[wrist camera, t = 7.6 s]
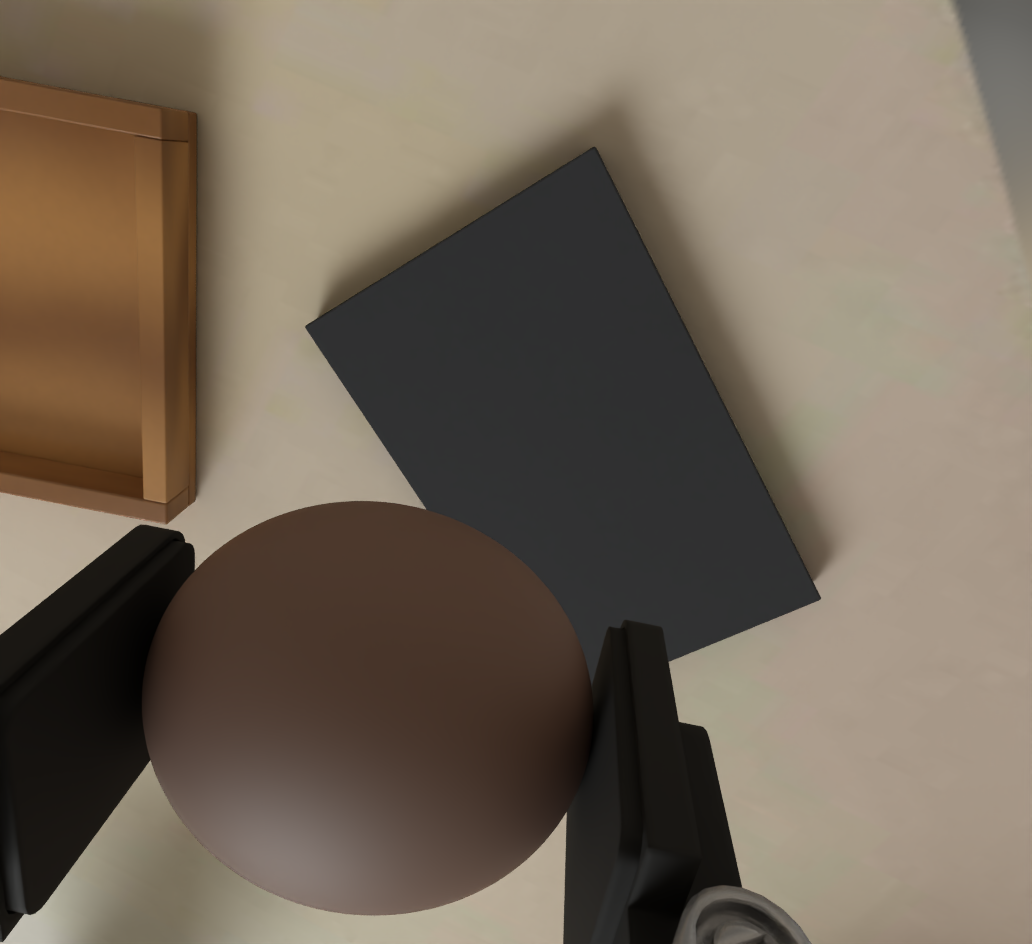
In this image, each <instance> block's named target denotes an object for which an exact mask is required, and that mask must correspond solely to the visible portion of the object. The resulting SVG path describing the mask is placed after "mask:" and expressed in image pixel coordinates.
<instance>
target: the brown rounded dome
mask: <svg viewBox="0 0 1032 944" xmlns="http://www.w3.org/2000/svg"><path fill="white" fill-rule="evenodd" d="M593 716H594V711H593V695H592V686H591V680H590V675H589V671H588V667H587V663H586V659H585V656H584V653H583V650H582V647H581V645H580V642H579V640H578V637H577V635H576V633H575V631H574V628H573V626H572V624H571V623H570V621H569V619H568V617H567V615H566V614H565V612H564V610H563V609H562V607H561V606H560V604H559V603H558V601H557V600H556V598H555V597H554V595H553V594H552V593H551V592H550V590H549V589H548V588H547V587H546V585H545V584H544V583H543V582H542V581H541V580H540V579H539V577H538V576H537V575H536V574H535V573H534V572H533V571H532V570H531V569H530V568H529V567H528V566H527V565H526V564H525V563H523V562H522V561H521V560H520V559H519V558H518V557H516V556H515V555H514V554H513V553H512V552H510V551H509V550H508V549H506V548H505V547H504V546H502V545H501V544H499V543H498V542H496V541H495V540H493V539H492V538H490V537H488V536H487V535H485V534H483V533H482V532H480V531H478V530H476V529H474V528H472V527H470V526H468V525H466V524H464V523H462V522H459V521H457V520H455V519H452V518H450V517H447V516H444V515H441V514H438V513H435V512H432V511H428V510H425V509H421V508H417V507H412V506H407V505H402V504H395V503H387V502H373V501H349V502H336V503H328V504H321V505H316V506H311V507H306V508H302V509H298V510H295V511H291V512H288V513H285V514H282V515H279V516H277V517H274V518H271V519H269V520H267V521H264V522H262V523H260V524H258V525H256V526H254V527H252V528H250V529H248V530H246V531H245V532H243V533H241V534H239V535H238V536H236V537H235V538H233V539H232V540H230V541H229V542H227V543H226V544H224V545H223V546H222V547H220V548H219V549H218V550H217V551H215V552H214V553H213V554H212V555H211V556H209V557H208V558H207V559H206V560H205V561H204V562H203V563H202V564H201V565H200V566H199V567H198V568H197V569H196V570H195V571H194V572H193V573H192V574H191V575H190V576H189V578H188V579H187V580H186V581H185V582H184V584H183V585H182V586H181V588H180V589H179V590H178V592H177V593H176V595H175V596H174V597H173V599H172V601H171V602H170V604H169V605H168V607H167V609H166V611H165V613H164V614H163V616H162V618H161V620H160V623H159V625H158V627H157V629H156V632H155V634H154V637H153V640H152V643H151V646H150V649H149V652H148V656H147V661H146V665H145V671H144V677H143V686H142V719H143V727H144V734H145V740H146V744H147V749H148V753H149V756H150V759H151V762H152V765H153V768H154V771H155V774H156V776H157V779H158V781H159V783H160V785H161V787H162V789H163V791H164V793H165V795H166V797H167V799H168V801H169V802H170V804H171V806H172V807H173V809H174V811H175V812H176V814H177V815H178V816H179V818H180V819H181V821H182V822H183V823H184V825H185V826H186V827H187V828H188V830H189V831H190V832H191V833H192V834H193V836H194V837H195V838H196V839H197V840H198V841H199V842H200V843H201V844H202V845H203V846H204V847H205V848H206V849H207V850H208V851H209V852H210V853H211V854H212V855H213V856H215V857H216V858H217V859H218V860H219V861H221V862H222V863H223V864H224V865H226V866H227V867H228V868H230V869H231V870H232V871H234V872H235V873H237V874H238V875H240V876H241V877H243V878H244V879H246V880H248V881H249V882H251V883H253V884H255V885H256V886H258V887H260V888H262V889H264V890H266V891H268V892H270V893H273V894H275V895H277V896H279V897H282V898H284V899H287V900H290V901H293V902H295V903H298V904H302V905H305V906H309V907H312V908H316V909H320V910H325V911H331V912H337V913H344V914H353V915H395V914H404V913H411V912H418V911H422V910H427V909H432V908H436V907H439V906H443V905H446V904H449V903H452V902H455V901H458V900H460V899H463V898H465V897H468V896H470V895H472V894H474V893H477V892H479V891H481V890H483V889H484V888H486V887H488V886H490V885H492V884H493V883H495V882H497V881H498V880H500V879H502V878H503V877H505V876H506V875H507V874H509V873H510V872H512V871H513V870H514V869H516V868H517V867H518V866H520V865H521V864H522V863H523V862H524V861H525V860H527V859H528V858H529V857H530V856H531V855H532V854H533V853H534V852H535V851H536V850H537V849H538V848H539V847H540V846H541V845H542V844H543V843H544V842H545V840H546V839H547V838H548V837H549V836H550V835H551V833H552V832H553V831H554V829H555V828H556V827H557V825H558V824H559V823H560V821H561V820H562V818H563V817H564V815H565V813H566V812H567V810H568V808H569V806H570V805H571V803H572V801H573V799H574V797H575V795H576V793H577V790H578V788H579V786H580V783H581V780H582V778H583V775H584V772H585V769H586V765H587V761H588V757H589V753H590V748H591V741H592V734H593Z"/></svg>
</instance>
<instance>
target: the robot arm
mask: <svg viewBox="0 0 1032 944" xmlns="http://www.w3.org/2000/svg"><path fill="white" fill-rule="evenodd" d="M194 571H195V552H194V547H193V545H192V544H190V543H185V539H184V536H183V534H182V533H181V532H179V531H174V530H169V529H164V528H159V527H154V526H149V525H139V526H137V527H135V528H134V529H133V530H131V531H130V532H129V533H128V534H126V535H125V536H124V537H123V538H121V539H120V540H119V541H118V542H116V543H115V544H114V545H113V546H111V547H110V548H109V549H108V550H106V551H105V552H104V553H103V554H101V555H100V556H99V557H98V558H96V559H95V560H94V561H93V562H91V563H90V564H89V565H88V566H86V567H85V568H84V569H83V570H81V571H80V572H79V573H78V574H76V575H75V576H74V577H73V578H71V579H70V580H69V581H68V582H66V583H65V584H64V585H62V586H61V587H60V588H59V589H57V590H56V591H55V592H54V593H52V594H51V595H50V596H49V597H47V598H46V599H45V600H44V601H42V602H41V603H40V604H39V605H37V606H36V607H35V608H34V609H32V610H31V611H30V612H29V613H27V614H26V615H25V616H24V617H22V618H21V619H20V620H19V621H17V622H16V623H15V624H14V625H12V626H11V627H10V628H9V629H7V630H6V631H5V632H4V633H2V634H1V635H0V942H3V941H4V940H5V939H6V937H7V936H8V935H9V933H10V932H11V931H12V929H13V928H14V927H15V925H16V924H17V923H18V921H19V920H20V919H21V917H22V916H23V915H24V914H29V915H32V914H35V913H36V912H37V911H39V910H40V909H41V908H42V907H43V905H44V904H45V903H46V902H47V900H48V899H49V898H50V896H51V895H52V894H53V892H54V891H55V890H56V888H57V887H58V885H59V884H60V883H61V881H62V880H63V879H64V877H65V876H66V875H67V873H68V872H69V870H70V869H71V868H72V866H73V865H74V864H75V862H76V861H77V860H78V858H79V857H80V855H81V854H82V853H83V851H84V850H85V849H86V847H87V846H88V845H89V843H90V842H91V840H92V839H93V838H94V836H95V835H96V834H97V832H98V831H99V830H100V828H101V827H102V825H103V824H104V823H105V821H106V820H107V819H108V817H109V816H110V815H111V813H112V812H113V810H114V809H115V808H116V806H117V805H118V804H119V802H120V801H121V799H122V798H123V797H124V795H125V794H126V793H127V791H128V790H129V789H130V787H131V786H132V784H133V783H134V782H135V780H136V779H137V778H138V776H139V775H140V774H141V772H142V771H143V769H144V768H145V767H146V765H147V764H148V763H149V761H150V760H151V759H150V756H149V753H148V749H147V744H146V740H145V734H144V727H143V719H142V686H143V677H144V671H145V665H146V661H147V656H148V652H149V649H150V646H151V643H152V640H153V637H154V634H155V632H156V629H157V627H158V625H159V623H160V620H161V618H162V616H163V614H164V613H165V611H166V609H167V607H168V605H169V604H170V602H171V601H172V599H173V597H174V596H175V595H176V593H177V592H178V590H179V589H180V588H181V586H182V585H183V584H184V582H185V581H186V580H187V579H188V578H189V576H190V575H191V574H192V573H193V572H194ZM592 695H593V711H594V716H593V734H592V741H591V748H590V753H589V757H588V761H587V765H586V769H585V772H584V775H583V778H582V780H581V783H580V786H579V788H578V790H577V793H576V795H575V797H574V799H573V801H572V803H571V805H570V806H569V808H568V810H567V826H566V863H565V901H564V938H563V944H811V942H810V941H809V939H808V938H807V936H806V935H805V933H804V932H803V930H802V929H801V927H800V926H799V925H798V924H797V923H796V922H795V921H794V920H793V919H792V918H791V917H790V916H789V915H788V914H787V913H786V912H785V911H784V910H783V909H782V908H780V907H779V906H777V905H776V904H774V903H773V902H771V901H770V900H768V899H767V898H765V897H764V896H762V895H759V894H757V893H754V892H752V891H749V890H747V889H744V888H742V885H741V880H740V876H739V871H738V867H737V862H736V858H735V853H734V848H733V844H732V839H731V835H730V830H729V826H728V821H727V817H726V812H725V808H724V803H723V799H722V794H721V790H720V785H719V780H718V776H717V771H716V767H715V762H714V758H713V753H712V749H711V744H710V740H709V737H708V734H707V731H706V730H705V729H704V728H703V727H701V726H696V725H691V724H686V723H681V722H679V720H678V715H677V709H676V703H675V697H674V691H673V685H672V680H671V674H670V668H669V662H668V656H667V651H666V645H665V639H664V633H663V629H662V627H660V626H656V625H651V624H646V623H641V622H636V621H630V620H624V621H623V622H622V625H621V627H620V628H615V627H610V626H609V627H608V629H607V631H606V635H605V638H604V642H603V646H602V649H601V653H600V657H599V661H598V664H597V668H596V672H595V676H594V679H593V683H592Z"/></svg>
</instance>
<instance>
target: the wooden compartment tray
mask: <svg viewBox="0 0 1032 944" xmlns="http://www.w3.org/2000/svg"><path fill="white" fill-rule="evenodd" d="M196 206H197V114H196V113H194V112H189V111H183V110H178V109H173V108H167V107H162V106H157V105H151V104H146V103H140V102H135V101H130V100H124V99H119V98H114V97H108V96H103V95H98V94H92V93H87V92H82V91H76V90H71V89H65V88H60V87H55V86H49V85H44V84H39V83H33V82H28V81H23V80H17V79H12V78H7V77H1V76H0V492H1V493H7V494H12V495H17V496H22V497H27V498H32V499H38V500H43V501H48V502H53V503H58V504H63V505H68V506H74V507H79V508H84V509H89V510H94V511H99V512H104V513H110V514H115V515H120V516H125V517H130V518H135V519H141V520H146V521H151V522H156V523H161V524H168V523H169V522H170V521H171V520H173V519H174V518H175V517H176V516H177V515H178V514H180V513H181V512H182V511H183V510H184V509H186V508H187V507H188V506H189V505H191V504H192V503H193V502H194V501H195V477H196Z"/></svg>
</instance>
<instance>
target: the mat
mask: <svg viewBox="0 0 1032 944" xmlns="http://www.w3.org/2000/svg"><path fill="white" fill-rule="evenodd" d="M305 328H306V329H307V331H308V332H309V334H310V335H311V337H312V338H313V340H314V341H315V343H316V344H317V346H318V347H319V349H320V350H321V352H322V353H323V355H324V356H325V358H326V359H327V361H328V362H329V364H330V365H331V367H332V368H333V370H334V371H335V373H336V374H337V376H338V377H339V379H340V380H341V382H342V383H343V385H344V386H345V388H346V389H347V391H348V392H349V394H350V395H351V397H352V398H353V400H354V401H355V403H356V404H357V406H358V407H359V409H360V410H361V412H362V413H363V415H364V416H365V418H366V419H367V421H368V422H369V424H370V425H371V427H372V428H373V430H374V431H375V433H376V434H377V436H378V437H379V439H380V440H381V442H382V443H383V445H384V446H385V448H386V449H387V451H388V452H389V454H390V455H391V457H392V458H393V460H394V461H395V463H396V464H397V466H398V467H399V469H400V470H401V472H402V473H403V475H404V476H405V478H406V479H407V481H408V482H409V484H410V485H411V487H412V488H413V490H414V491H415V493H416V494H417V496H418V497H419V499H420V500H421V502H422V503H423V505H424V506H425V508H426V509H427V510H428V511H432V512H435V513H438V514H441V515H444V516H447V517H450V518H452V519H455V520H457V521H459V522H462V523H464V524H466V525H468V526H470V527H472V528H474V529H476V530H478V531H480V532H482V533H483V534H485V535H487V536H488V537H490V538H492V539H493V540H495V541H496V542H498V543H499V544H501V545H502V546H504V547H505V548H506V549H508V550H509V551H510V552H512V553H513V554H514V555H515V556H516V557H518V558H519V559H520V560H521V561H522V562H523V563H525V564H526V565H527V566H528V567H529V568H530V569H531V570H532V571H533V572H534V573H535V574H536V575H537V576H538V577H539V579H540V580H541V581H542V582H543V583H544V584H545V585H546V587H547V588H548V589H549V590H550V592H551V593H552V594H553V595H554V597H555V598H556V600H557V601H558V603H559V604H560V606H561V607H562V609H563V610H564V612H565V614H566V615H567V617H568V619H569V621H570V623H571V624H572V626H573V628H574V631H575V633H576V635H577V637H578V640H579V642H580V645H581V647H582V650H583V653H584V656H585V659H586V663H587V667H588V671H589V675H590V680H591V686H592V683H593V679H594V676H595V672H596V668H597V664H598V661H599V657H600V653H601V649H602V646H603V642H604V638H605V635H606V631H607V629H608V627H609V626H610V627H615V628H620V627H621V625H622V622H623V621H624V620H630V621H636V622H641V623H646V624H651V625H656V626H660V627H662V629H663V633H664V639H665V645H666V651H667V656H668V662H669V661H672V660H674V659H677V658H679V657H682V656H684V655H686V654H689V653H691V652H694V651H696V650H699V649H701V648H704V647H706V646H708V645H711V644H713V643H716V642H718V641H721V640H723V639H726V638H728V637H731V636H733V635H735V634H738V633H740V632H743V631H745V630H748V629H750V628H753V627H755V626H757V625H760V624H762V623H765V622H767V621H770V620H772V619H775V618H777V617H779V616H782V615H784V614H787V613H789V612H792V611H794V610H797V609H799V608H801V607H804V606H806V605H809V604H811V603H814V602H816V601H819V600H820V599H821V597H820V595H819V593H818V591H817V589H816V587H815V585H814V583H813V581H812V579H811V577H810V575H809V573H808V571H807V569H806V567H805V565H804V563H803V561H802V559H801V557H800V555H799V553H798V551H797V549H796V547H795V545H794V543H793V541H792V539H791V537H790V535H789V533H788V531H787V529H786V527H785V525H784V523H783V521H782V519H781V517H780V515H779V513H778V511H777V509H776V507H775V505H774V503H773V501H772V499H771V497H770V495H769V493H768V491H767V489H766V487H765V485H764V483H763V481H762V479H761V477H760V475H759V473H758V471H757V469H756V467H755V465H754V463H753V461H752V459H751V457H750V455H749V453H748V451H747V449H746V447H745V445H744V443H743V441H742V439H741V437H740V435H739V433H738V431H737V429H736V427H735V425H734V423H733V421H732V419H731V417H730V415H729V413H728V411H727V409H726V407H725V405H724V403H723V401H722V399H721V397H720V395H719V393H718V391H717V389H716V387H715V385H714V383H713V381H712V379H711V377H710V375H709V373H708V371H707V369H706V367H705V365H704V363H703V361H702V359H701V357H700V355H699V353H698V351H697V349H696V347H695V345H694V343H693V341H692V339H691V337H690V335H689V333H688V331H687V329H686V327H685V325H684V323H683V321H682V319H681V317H680V315H679V313H678V311H677V309H676V307H675V305H674V303H673V301H672V299H671V297H670V295H669V293H668V291H667V289H666V287H665V285H664V283H663V281H662V279H661V277H660V275H659V273H658V271H657V269H656V267H655V265H654V263H653V261H652V259H651V257H650V255H649V253H648V251H647V249H646V247H645V245H644V243H643V241H642V239H641V237H640V235H639V233H638V231H637V229H636V227H635V225H634V223H633V221H632V219H631V217H630V215H629V213H628V211H627V209H626V207H625V205H624V203H623V201H622V199H621V197H620V195H619V193H618V191H617V189H616V187H615V185H614V183H613V181H612V179H611V177H610V175H609V173H608V171H607V169H606V167H605V165H604V163H603V161H602V159H601V157H600V155H599V153H598V151H597V149H596V148H595V147H592V148H591V149H589V150H588V151H586V152H584V153H583V154H581V155H580V156H578V157H576V158H575V159H573V160H572V161H570V162H568V163H567V164H565V165H564V166H562V167H560V168H559V169H557V170H555V171H554V172H552V173H551V174H549V175H547V176H546V177H544V178H543V179H541V180H539V181H538V182H536V183H535V184H533V185H531V186H530V187H528V188H526V189H525V190H523V191H522V192H520V193H518V194H517V195H515V196H514V197H512V198H510V199H509V200H507V201H506V202H504V203H502V204H501V205H499V206H498V207H496V208H494V209H493V210H491V211H489V212H488V213H486V214H485V215H483V216H481V217H480V218H478V219H477V220H475V221H473V222H472V223H470V224H469V225H467V226H465V227H464V228H462V229H461V230H459V231H457V232H456V233H454V234H452V235H451V236H449V237H448V238H446V239H444V240H443V241H441V242H440V243H438V244H436V245H435V246H433V247H432V248H430V249H428V250H427V251H425V252H423V253H422V254H420V255H419V256H417V257H415V258H414V259H412V260H411V261H409V262H407V263H406V264H404V265H403V266H401V267H399V268H398V269H396V270H395V271H393V272H391V273H390V274H388V275H386V276H385V277H383V278H382V279H380V280H378V281H377V282H375V283H374V284H372V285H370V286H369V287H367V288H366V289H364V290H362V291H361V292H359V293H357V294H356V295H354V296H353V297H351V298H349V299H348V300H346V301H345V302H343V303H341V304H340V305H338V306H337V307H335V308H333V309H332V310H330V311H329V312H327V313H325V314H324V315H322V316H320V317H319V318H317V319H316V320H314V321H312V322H311V323H309V324H308V325H306V326H305Z"/></svg>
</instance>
